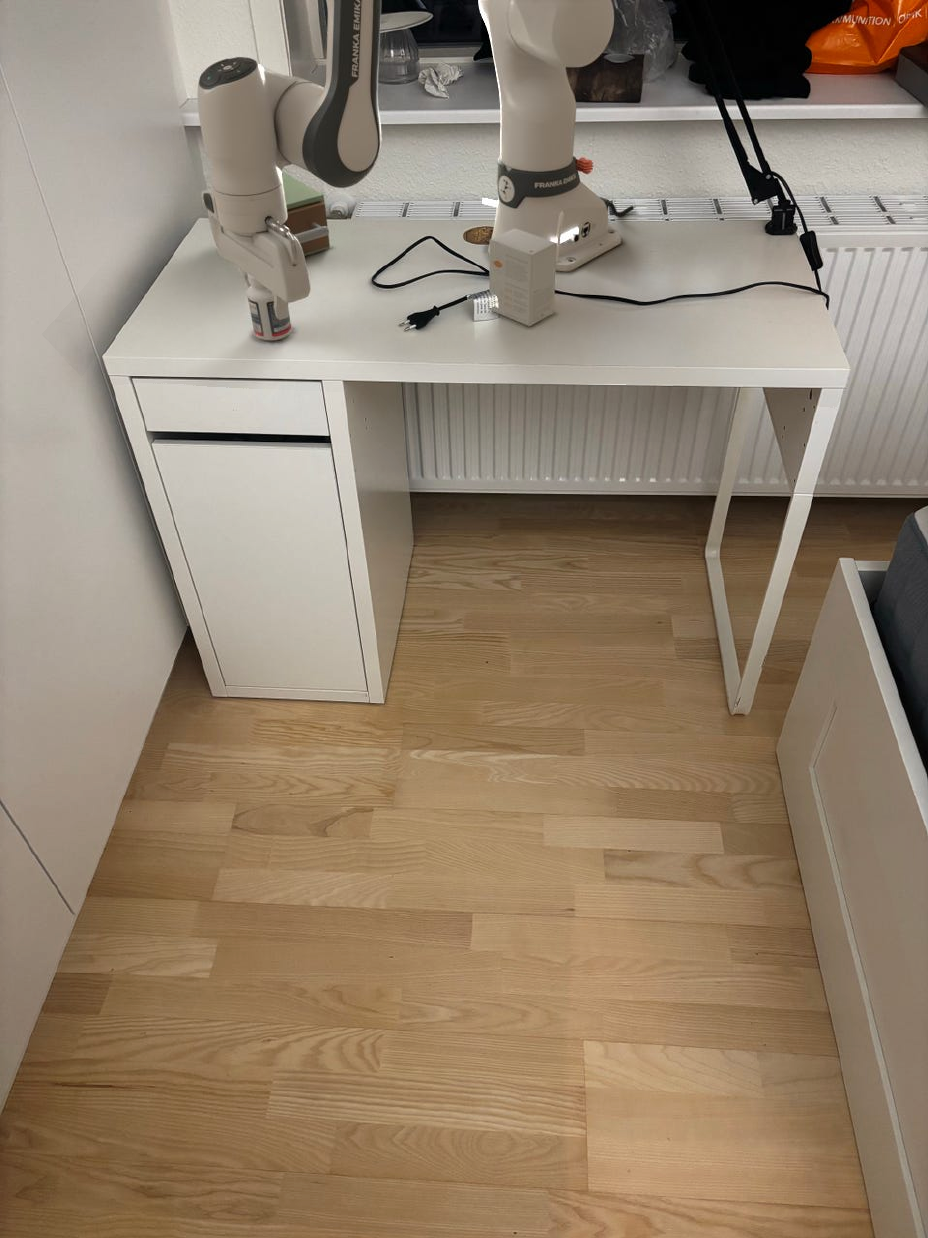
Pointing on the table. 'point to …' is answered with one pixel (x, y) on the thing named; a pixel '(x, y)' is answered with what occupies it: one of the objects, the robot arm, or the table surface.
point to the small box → (522, 275)
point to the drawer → (309, 226)
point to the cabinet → (300, 196)
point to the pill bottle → (265, 313)
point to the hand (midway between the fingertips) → (269, 307)
